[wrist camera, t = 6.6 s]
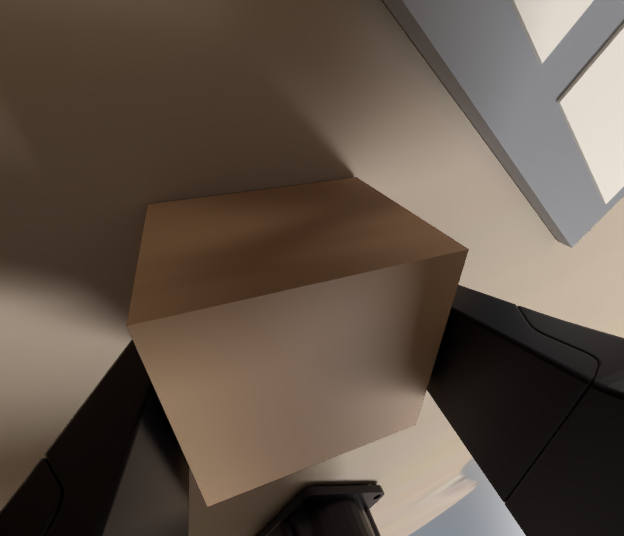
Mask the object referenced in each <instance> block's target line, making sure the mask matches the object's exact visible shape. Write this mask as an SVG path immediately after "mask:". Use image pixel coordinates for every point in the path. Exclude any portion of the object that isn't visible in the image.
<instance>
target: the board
mask: <svg viewBox="0 0 624 536" xmlns="http://www.w3.org/2000/svg"><path fill="white" fill-rule="evenodd" d="M383 2H384V3H385V4H386V6H387V7H388V9H389V10H390V11H391V13H392V14H393V15H394V17H395V18H396V20H397V21H398V22H399V24H400V25H401V26H402V28H403V29H404V31H405V32H406V33H407V35H408V36H409V37H410V39H411V40H412V42H413V43H414V44H415V46H416V47H417V48H418V50H419V51H420V53H421V54H422V55H423V57H424V58H425V59H426V61H427V62H428V64H429V65H430V66H431V68H432V69H433V70H434V72H435V73H436V75H437V76H438V77H439V79H440V80H441V81H442V83H443V84H444V86H445V87H446V88H447V90H448V91H449V92H450V94H451V95H452V97H453V98H454V99H455V101H456V102H457V103H458V105H459V106H460V108H461V109H462V110H463V112H464V113H465V114H466V116H467V117H468V119H469V120H470V121H471V123H472V124H473V125H474V127H475V128H476V130H477V131H478V132H479V134H480V135H481V136H482V138H483V139H484V141H485V142H486V143H487V145H488V146H489V148H490V149H491V150H492V152H493V153H494V154H495V156H496V157H497V159H498V160H499V161H500V163H501V164H502V165H503V167H504V168H505V170H506V171H507V172H508V174H509V175H510V176H511V178H512V179H513V181H514V182H515V183H516V185H517V186H518V187H519V189H520V190H521V192H522V193H523V194H524V196H525V197H526V198H527V200H528V201H529V203H530V204H531V205H532V207H533V208H534V209H535V211H536V212H537V214H538V215H539V216H540V218H541V219H542V220H543V222H544V223H545V225H546V226H547V227H548V229H549V230H550V231H551V233H552V234H553V236H554V237H555V238H556V240H557V241H559V242H561V243H563V244H565V245H567V246H569V247H571V248H572V247H573V246H574V245H575V244H576V243H577V242H578V241H579V240H580V239H581V238H582V237H583V236H584V235H585V234H586V233H587V232H588V231H589V230H590V229H591V228H592V227H593V226H594V225H595V224H596V223H597V222H598V221H599V220H600V219H601V218H602V217H603V216H604V215H605V214H606V213H607V212H608V211H609V210H610V209H611V208H612V207H613V206H614V205H615V204H616V203H617V202H618V201H619V200H620V199H621V198H622V197H623V196H624V0H383Z"/></svg>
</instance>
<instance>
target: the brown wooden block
mask: <svg viewBox="0 0 624 536" xmlns="http://www.w3.org/2000/svg"><path fill="white" fill-rule="evenodd" d="M468 250H469V249H467V248H466V247H464V246H463V245H461V244H460V243H458V242H456V241H455V240H453V239H452V238H450V237H449V236H447V235H446V234H444V233H442V232H441V231H439V230H438V229H436V228H435V227H433V226H432V225H430V224H428V223H427V222H425V221H424V220H422V219H421V218H419V217H418V216H416V215H414V214H413V213H411V212H410V211H408V210H407V209H405V208H404V207H402V206H400V205H399V204H397V203H396V202H394V201H393V200H391V199H389V198H388V197H386V196H385V195H383V194H382V193H380V192H379V191H377V190H375V189H374V188H372V187H371V186H369V185H368V184H366V183H365V182H363V181H361V180H360V179H358V178H357V177H355V178H347V179H339V180H331V181H324V182H316V183H308V184H300V185H293V186H285V187H277V188H269V189H262V190H254V191H246V192H238V193H231V194H223V195H215V196H207V197H200V198H192V199H184V200H176V201H169V202H161V203H153V204H148V205H147V211H146V217H145V222H144V228H143V234H142V240H141V246H140V251H139V257H138V263H137V269H136V274H135V280H134V286H133V292H132V297H131V303H130V309H129V315H128V320H127V328H128V330H129V333H130V335H131V337H132V339H133V342H134V344H135V346H136V348H137V351H138V353H139V355H140V357H141V359H142V362H143V364H144V366H145V368H146V371H147V373H148V375H149V377H150V380H151V382H152V384H153V386H154V389H155V391H156V393H157V395H158V397H159V400H160V402H161V404H162V406H163V409H164V411H165V413H166V415H167V418H168V420H169V422H170V424H171V426H172V429H173V431H174V433H175V435H176V438H177V440H178V442H179V444H180V447H181V449H182V451H183V453H184V455H185V458H186V460H187V462H188V464H189V467H190V469H191V471H192V473H193V476H194V478H195V480H196V482H197V485H198V487H199V489H200V491H201V493H202V496H203V498H204V500H205V502H206V505H207V507H209V506H211V505H214V504H216V503H219V502H221V501H224V500H226V499H229V498H231V497H234V496H236V495H239V494H242V493H244V492H247V491H249V490H252V489H254V488H257V487H259V486H262V485H264V484H267V483H269V482H272V481H274V480H277V479H280V478H282V477H285V476H287V475H290V474H292V473H295V472H297V471H300V470H302V469H305V468H307V467H310V466H313V465H315V464H318V463H320V462H323V461H325V460H328V459H330V458H333V457H335V456H338V455H340V454H343V453H345V452H348V451H351V450H353V449H356V448H358V447H361V446H363V445H366V444H368V443H371V442H373V441H376V440H378V439H381V438H383V437H386V436H389V435H391V434H394V433H396V432H399V431H401V430H404V429H406V428H409V427H411V426H414V425H416V423H417V420H418V416H419V413H420V410H421V406H422V403H423V400H424V396H425V393H426V390H427V386H428V383H429V380H430V376H431V373H432V370H433V366H434V363H435V360H436V356H437V353H438V350H439V346H440V343H441V340H442V336H443V333H444V330H445V326H446V323H447V320H448V316H449V313H450V310H451V306H452V303H453V300H454V296H455V293H456V290H457V286H458V283H459V280H460V276H461V273H462V270H463V266H464V263H465V260H466V256H467V253H468Z"/></svg>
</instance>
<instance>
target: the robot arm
mask: <svg viewBox="0 0 624 536" xmlns="http://www.w3.org/2000/svg"><path fill="white" fill-rule="evenodd" d="M427 391H428V392H429V394H430V395H431V396H432V398H433V399H434V401H435V402H436V404H437V405H438V407H439V408H440V410H441V411H442V413H443V414H444V416H445V417H446V418H447V420H448V421H449V423H450V424H451V426H452V427H453V429H454V430H455V432H456V433H457V435H458V436H459V438H460V439H461V440H462V442H463V443H464V445H465V446H466V448H467V449H468V451H469V452H470V454H471V455H472V457H473V458H474V460H475V461H476V462H477V464H478V465H479V467H480V468H481V470H482V471H483V473H484V474H485V476H486V477H487V478H488V480H489V482H490V483H491V484H492V486H493V487H494V489H495V490H496V492H497V493H498V495H499V496H500V498H501V499H502V501H504V502H505V505H506V507H507V508H508V510H509V511H510V513H511V514H512V516H513V517H514V518H515V520H516V521H517V523H518V524H519V526H520V527H521V529H522V530H523V532H524V533H525V535H526V536H624V338H621V337H618V336H614V335H611V334H607V333H604V332H600V331H597V330H594V329H590V328H587V327H583V326H580V325H577V324H573V323H570V322H567V321H563V320H560V319H557V318H554V317H551V316H548V315H545V314H542V313H539V312H536V311H533V310H530V309H527V308H524V307H522V306H516V305H515V304H513V303H510V302H507V301H504V300H501V299H498V298H495V297H492V296H489V295H486V294H484V293H481V292H478V291H475V290H472V289H469V288H466V287H463V286H460V285H458V286H457V290H456V293H455V296H454V300H453V303H452V306H451V310H450V313H449V316H448V320H447V323H446V326H445V330H444V333H443V336H442V340H441V343H440V346H439V350H438V353H437V356H436V360H435V363H434V366H433V370H432V373H431V376H430V380H429V383H428V386H427ZM45 458H46V459H45ZM45 458H43V459H41V460H40V461H39V462H38V463H37V465H36V466H35V467H34V469H33V470H32V471H31V473H30V474H29V475H28V477H27V478H26V479H25V481H24V482H23V483H22V484H21V486H20V487H19V488H18V489H17V491H16V492H15V493H14V495H13V496H12V497H11V498H10V500H9V501H8V502H7V503H6V505H5V506H4V507H3V508H2V510H1V511H0V536H188V517H189V464H188V462H187V460H186V458H185V455H184V453H183V451H182V449H181V447H180V444H179V442H178V440H177V438H176V435H175V433H174V431H173V429H172V426H171V424H170V422H169V420H168V418H167V415H166V413H165V411H164V409H163V406H162V404H161V402H160V400H159V397H158V395H157V393H156V391H155V389H154V386H153V384H152V382H151V380H150V377H149V375H148V373H147V371H146V368H145V366H144V364H143V362H142V359H141V357H140V355H139V353H138V351H137V348H136V346H135V344H134V342H133V339H132V340H131V341H130V343H129V344H128V345H127V347H126V348H125V349H124V351H123V352H122V353H121V355H120V356H119V357H118V359H117V360H116V361H115V362H114V364H113V365H112V366H111V368H110V369H109V370H108V372H107V373H106V374H105V376H104V377H103V378H102V380H101V381H100V382H99V384H98V385H97V386H96V387H95V389H94V390H93V391H92V393H91V394H90V395H89V397H88V398H87V399H86V401H85V402H84V403H83V405H82V406H81V407H80V408H79V410H78V411H77V412H76V414H75V415H74V416H73V418H72V419H71V420H70V422H69V423H68V424H67V426H66V427H65V428H64V430H63V431H62V432H61V433H60V435H59V436H58V437H57V439H56V440H55V441H54V443H53V444H52V445H51V447H50V448H49V449H48V451H47V452H46V453H45ZM383 495H384V492H383V490H382V488H381V486H380V485H364V486H316V487H309V488H306V489H304V490H303V491H301V492H300V493H299V494H298V495H297V496H296V497H295V498H294V500H293V501H292V502H291V503H290V504H289V505H288V506H287V507H286V508H285V509H284V510H283V511H282V512H281V513H280V514H279V515H278V516H277V517H276V518H275V519H274V520H273V521H272V522H271V524H270V525H269V526H268V527H267V528H266V529H265V530H264V531H263V532H262V533H261V534H260V535H259V536H380V533H379V531H378V529H377V526H376V524H375V522H374V519H373V517H372V515H371V513H370V510H369V509H370V508H371V507H372V506H373V505H374V504H375V503H376V502H377V501H378V500H379V499H380V498H381V497H382V496H383Z"/></svg>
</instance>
